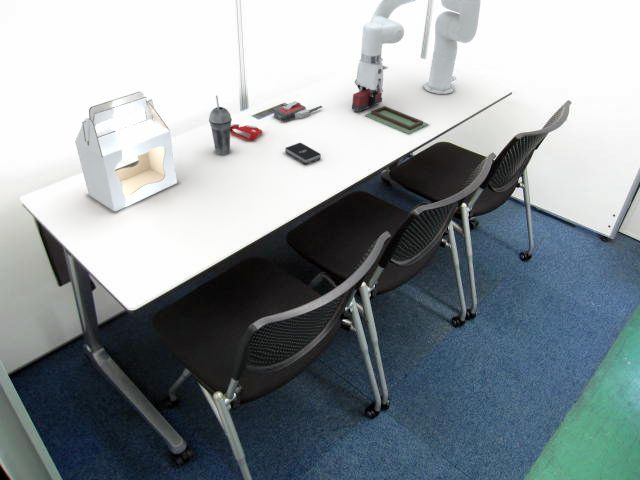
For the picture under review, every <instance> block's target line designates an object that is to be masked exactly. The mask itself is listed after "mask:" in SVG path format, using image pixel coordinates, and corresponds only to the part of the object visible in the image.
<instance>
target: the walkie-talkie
mask: <svg viewBox="0 0 640 480" xmlns="http://www.w3.org/2000/svg"><path fill="white" fill-rule="evenodd" d="M322 108H323V106H322V105H319V106H317V107H314V108H310V109H307V108H306V106H305V105H302V104H301V102H298V101H297V100H296V101H292V102H289V103H288V104H287V105H284V106H281V107H279V108H276V109H274V110H273V118H275V119H277V120H279V121H281V122H288V121H291V120H293V119H303V118H306V117H309V116H310V114H311V113H313V112H316V111H318V110H320V109H322Z"/></svg>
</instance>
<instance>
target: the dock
mask: <svg viewBox="0 0 640 480" xmlns="http://www.w3.org/2000/svg"><path fill="white" fill-rule="evenodd" d="M365 117H367V118H369V119H371V120H373V121H375V122H378V123H381V124H383V125H385V126H388V127H390V128H393V129H395V130H397V131H399V132H402V133H405V134H407V135H410V134H412V133H414V132H416V131H418V130H421V129H423V128H425V127H428V126H429V123H427V122H425V121H423V120H422V119H421V120H420V119H418V118H417V117H413V116H411V115H409V114H406V113H403V112H401V111H399V110H396V109H393V108H391V107H388V106H387V105H383V106H381V107H377V108H375V109H373V110H371V111H370V112H369V113H366V114H365Z"/></svg>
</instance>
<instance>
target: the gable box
mask: <svg viewBox="0 0 640 480" xmlns="http://www.w3.org/2000/svg"><path fill="white" fill-rule="evenodd" d="M147 98H148V97H147V96H145V93H143V92H142V91H137V92H134V93H130V94H127V95H124V96H121V97H117V98H115V99H111V100H108V101H105V102H102V103H98V104H95V105H93V106H92V105H91V106H90V107H89V109H88V117H89V118H85V119H84V120H83V121H82V122H81V123H82V125H81V127H80V129H79V131H78V133H77V136H76V138H75V141H74V142H75V146H76V151H77V155H78V158H79V162H80V166H81V167H80V168H81V170H82V174H83V179H84V182H85V185H86V190H87V194H88V196H89V197H91V198H92V199H94V200H96V201H97V202H99V203H100V204H102V205H104V207H106V208H108V209H109V210H111V211H112V212H114V213H115V212H116V213H117V212H118V211H120V210H123V209H125V208H127V207H129V206H131V205H133V204H135V203H138V202H140V201H142V200H144V199H147V198H148V197H151V196H153V195H155V194H157V193H159V192H162V191H164V190H166V189H168V188H170V187H172V186H174V185H177V184H178V180H177V179H178V178H177V172H176V164H175V157H174V150H173V144H172V143H173V141H172V136H171V130H170V129H169V127H168V126H167V124H166V123H165V121H164V120H163V119H162V117H161V116H160V114H159V113H158V111H157V110H156V109H155V106H154V101H153V99H151V98H150V99H148V100H147ZM138 110H141V117H137V118H135V119H133V120H129V121H126V122H124V123H120V124H118V125H115V126H113V127H110V128H107V129H103V130H101V131H98V132H97V131H96V125H97V124H100V123H102V122H106V121H109V120H111V119H114V118H117V117H121V116H123V115H125V114H130V113H133V112H135V111H138ZM132 157H133V158H134V157H137V159H138V162H137V163H136V164H135V165H133V166H126V167H125V166H124V167H121V168H118V169H116V168H117V166H118V165H119V163H121V162H123V161H124V160H127V159H129V158H132Z"/></svg>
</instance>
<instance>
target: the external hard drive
mask: <svg viewBox="0 0 640 480" xmlns="http://www.w3.org/2000/svg"><path fill="white" fill-rule="evenodd" d="M284 149H285V151H284V152H285V154H287V155H289V156H290V157H292V158H294V159H295V160H297V161H299V162H300V163H302V164H304V165H308V164H312V163H314V162H317V161H319V160H321V159H322V154H321V153H320V152H319V151H317V150H315V149H313V148H311V147H309V146H308V145H307V144H304V143H303V142H298V143H294V144H292V145H289V146H286V147H285V148H284Z"/></svg>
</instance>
